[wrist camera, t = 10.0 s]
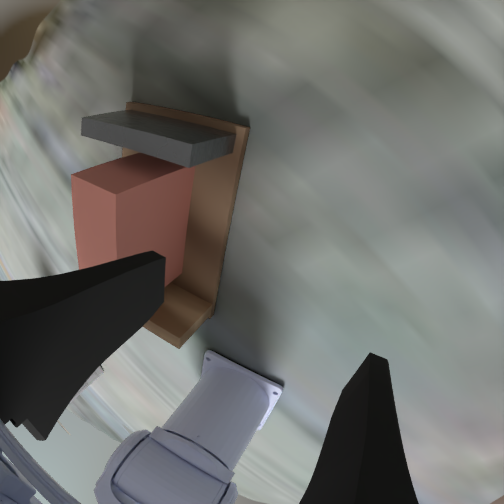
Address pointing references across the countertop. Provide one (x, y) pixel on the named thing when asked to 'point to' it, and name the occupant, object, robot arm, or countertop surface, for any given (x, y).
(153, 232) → the pink rectangular pillar
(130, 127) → the gray rectangular bar
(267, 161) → the countertop surface
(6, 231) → the countertop surface
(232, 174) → the shelf
